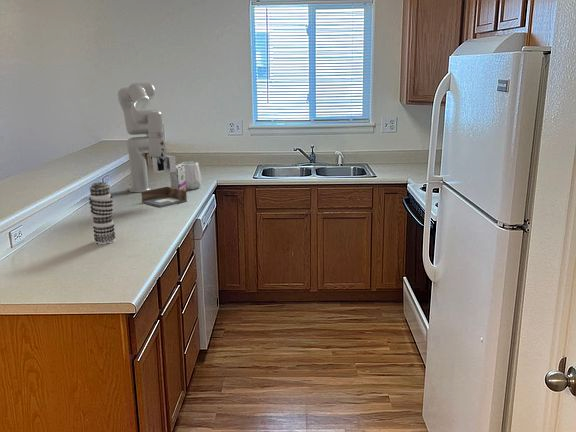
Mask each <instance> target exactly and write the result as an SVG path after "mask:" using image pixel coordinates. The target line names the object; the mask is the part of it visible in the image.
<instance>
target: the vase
mask: <svg viewBox="0 0 576 432" xmlns="http://www.w3.org/2000/svg"><path fill="white" fill-rule="evenodd" d="M180 164H184V166H185V178H186V190H188V189H192V190H196V189H197V188H198V189H199V188H200V187H201V186H202V182H203V179H202V175H201V174H202V173H201V170H200V165H199V162H197V161H183V162H180Z"/></svg>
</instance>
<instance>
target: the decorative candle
mask: <svg viewBox="0 0 576 432" xmlns="http://www.w3.org/2000/svg"><path fill="white" fill-rule="evenodd" d="M110 187H111V186H110V185H108V183H107V182H103V181H101V182H100V181H99V182H94V183H92V184H91V186H89V192H90V195H89V197H88V200H89V205H90V207H89V208H90V209H91V210H90V213H91V216H92V219H93V220H92V221H93V222H92V223H93V226H92V228H93V232H94V234H93V237H94V238H93V239H94V244H96V243H98V244H97V245H101V244H102V245H107V244H106V243H110V244H113V243H115V242H116V232H115V224H114V220H113V215H114V211H113V210H114V209H113V208H112V207H113V206H114V204H112V203H113V200H111V199H112V198H113V196H112V195H111V192H110ZM114 241H115V242H114ZM112 242H113V243H112Z"/></svg>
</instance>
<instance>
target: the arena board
mask: <svg viewBox="0 0 576 432" xmlns="http://www.w3.org/2000/svg"><path fill="white" fill-rule="evenodd" d="M141 201H142V200H141ZM187 202H188V199H187V200H183V199H179V198H175V197H170V196H165V197H160V198H155V199H151V200H146V201H142V204H147V205H150V206H153V207H159V208H163V207H169V206H173V205H177V204H183V203H187Z"/></svg>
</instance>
